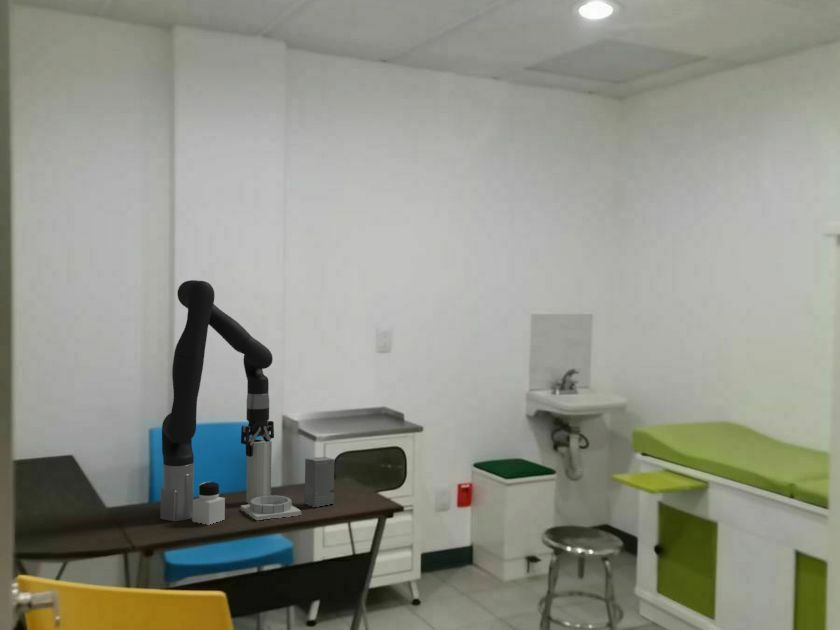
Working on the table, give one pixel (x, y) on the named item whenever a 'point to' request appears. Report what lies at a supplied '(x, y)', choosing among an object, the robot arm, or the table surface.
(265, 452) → the paper towel roll
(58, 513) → the table surface
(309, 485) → the skincare box
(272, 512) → the collar socket
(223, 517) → the medicine bottle
